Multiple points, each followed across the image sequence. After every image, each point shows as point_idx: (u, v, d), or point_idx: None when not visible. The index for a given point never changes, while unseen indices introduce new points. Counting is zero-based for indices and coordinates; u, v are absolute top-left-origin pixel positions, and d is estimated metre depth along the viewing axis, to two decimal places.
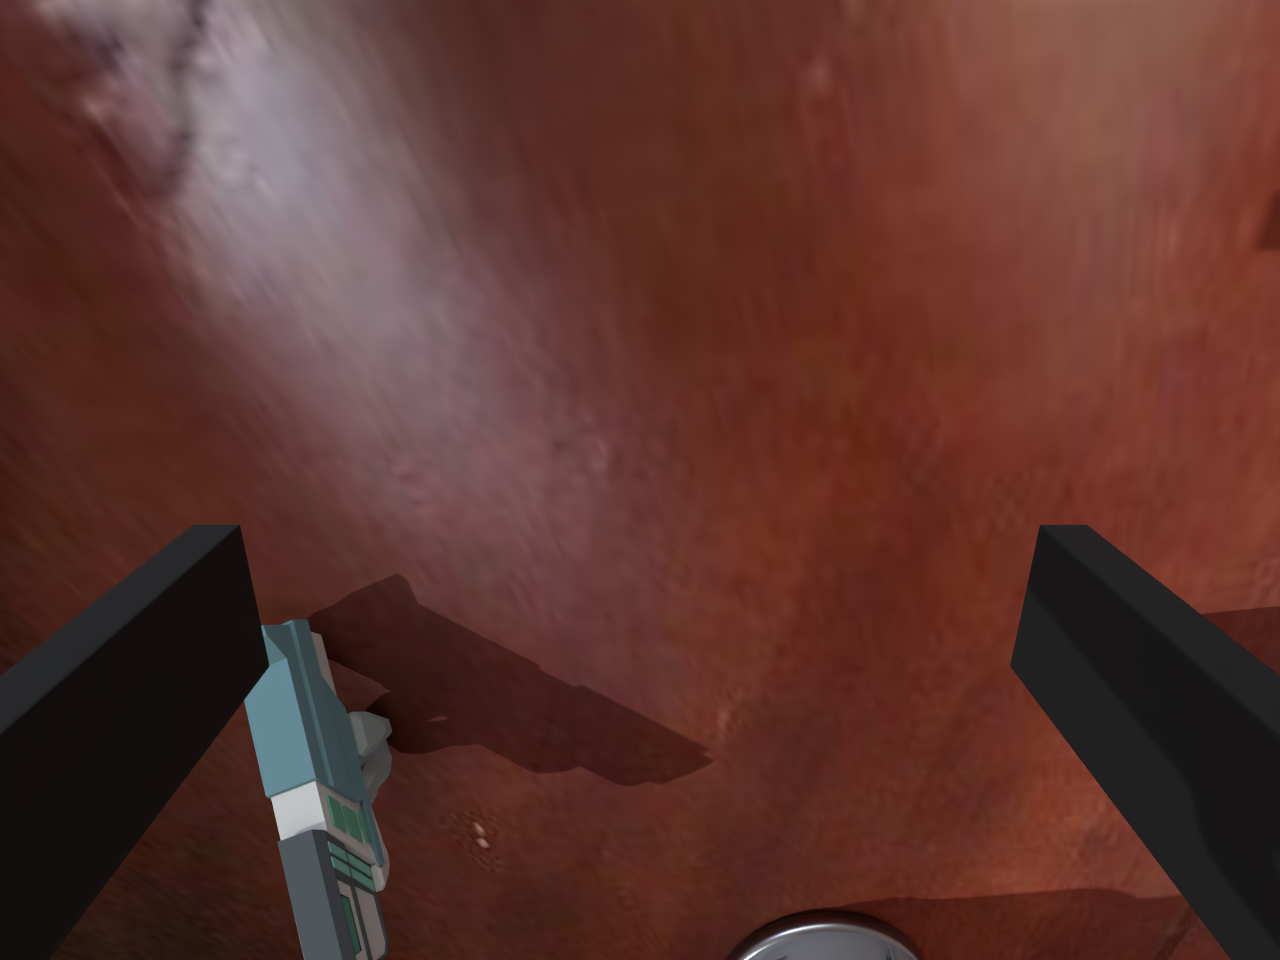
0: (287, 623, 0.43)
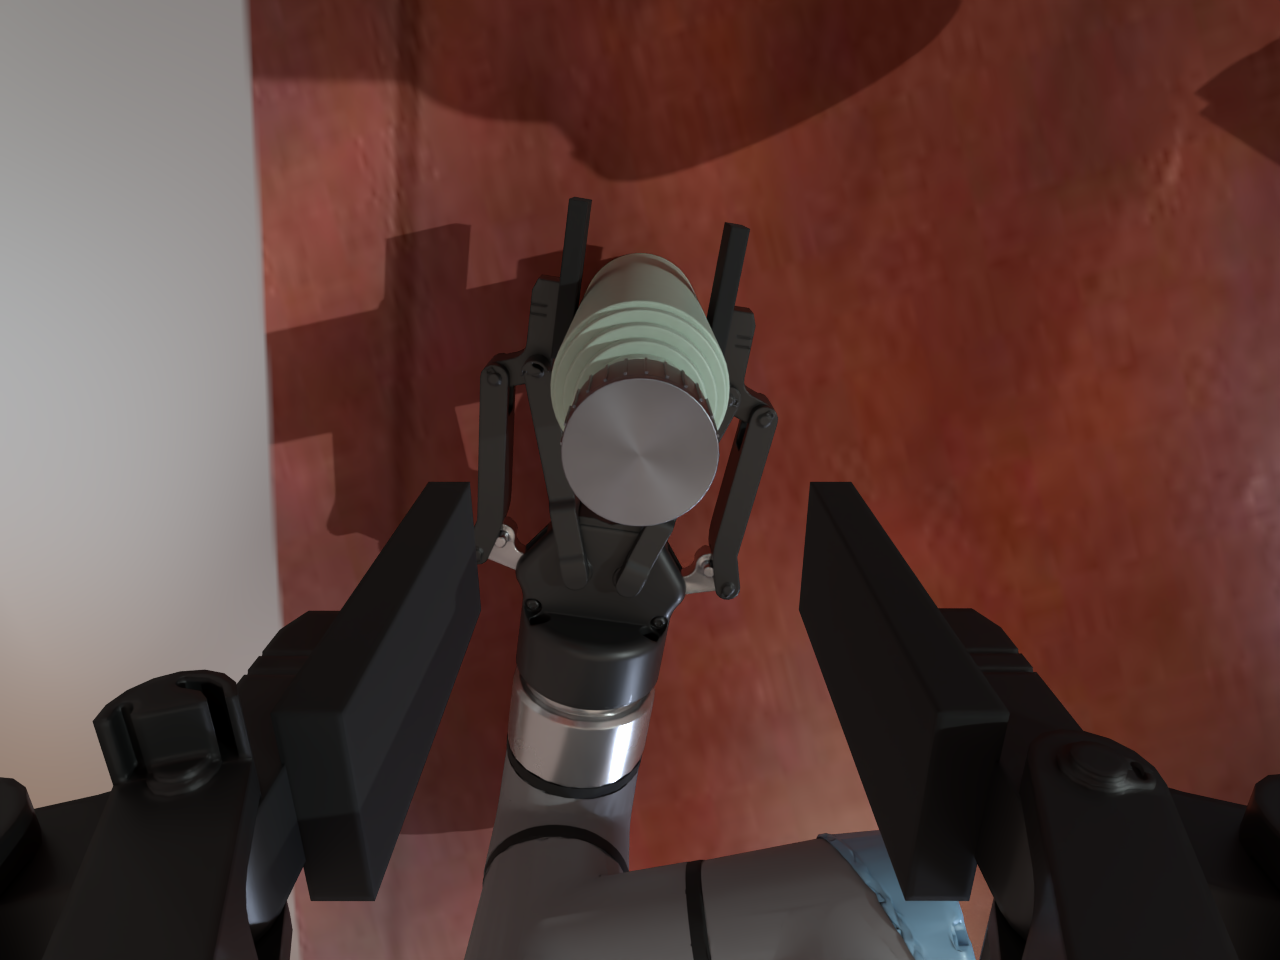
0: None
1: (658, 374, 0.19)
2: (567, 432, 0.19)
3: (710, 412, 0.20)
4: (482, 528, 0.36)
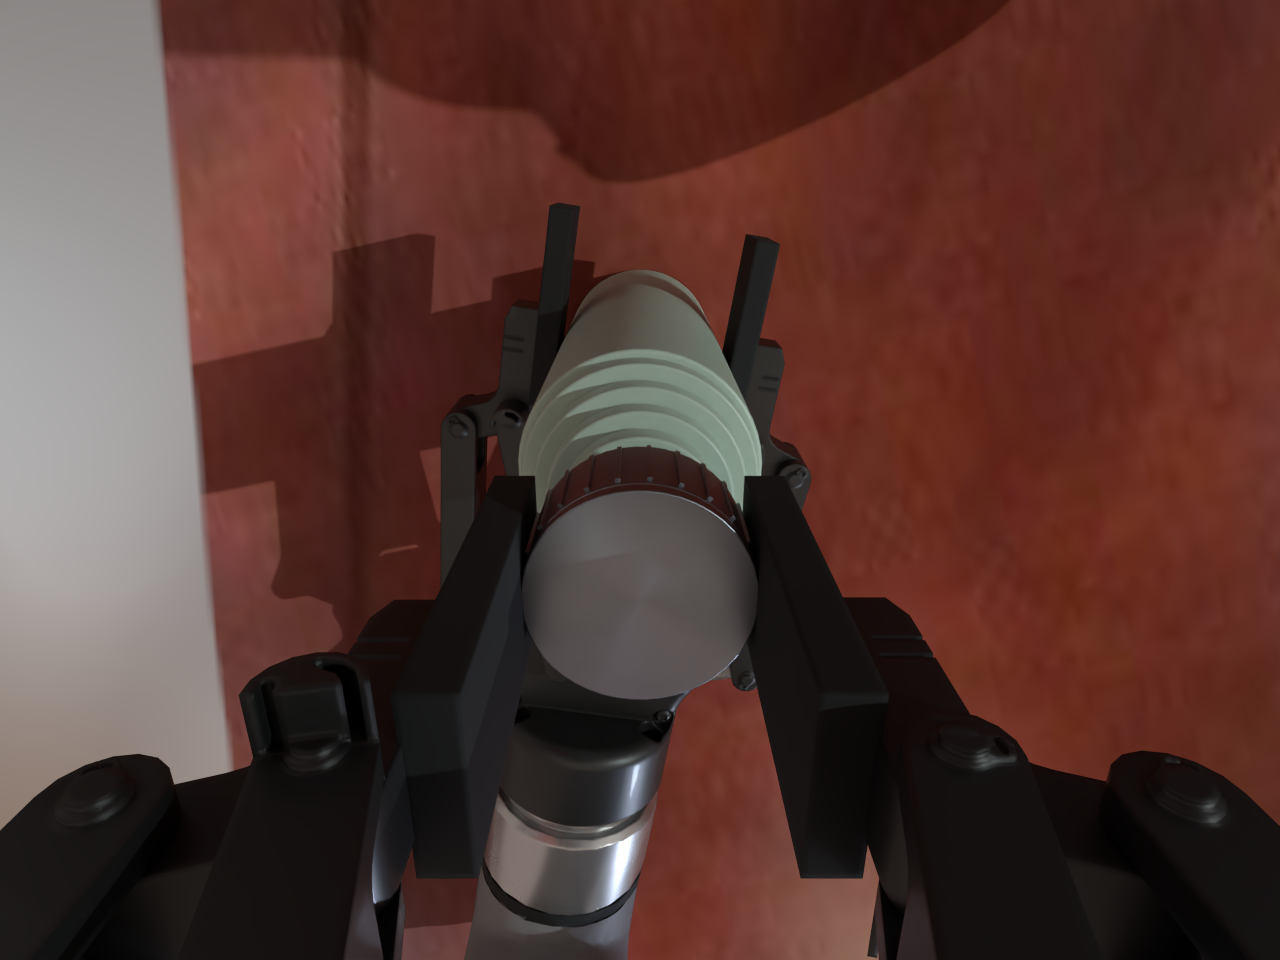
0: None
1: (668, 480, 0.13)
2: (529, 569, 0.13)
3: (746, 533, 0.13)
4: None
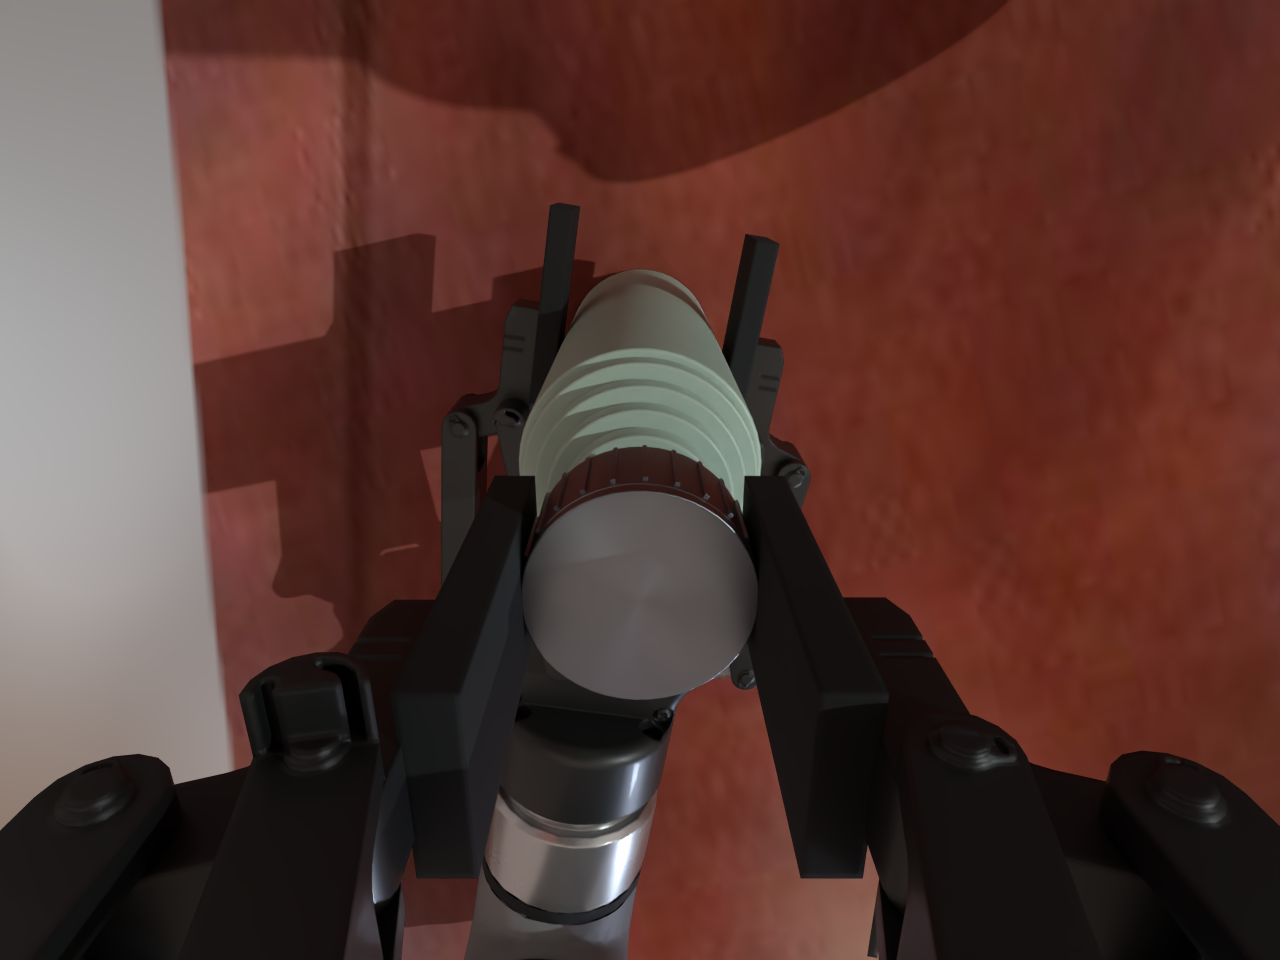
0: None
1: None
2: (637, 696, 0.13)
3: (556, 504, 0.13)
4: None
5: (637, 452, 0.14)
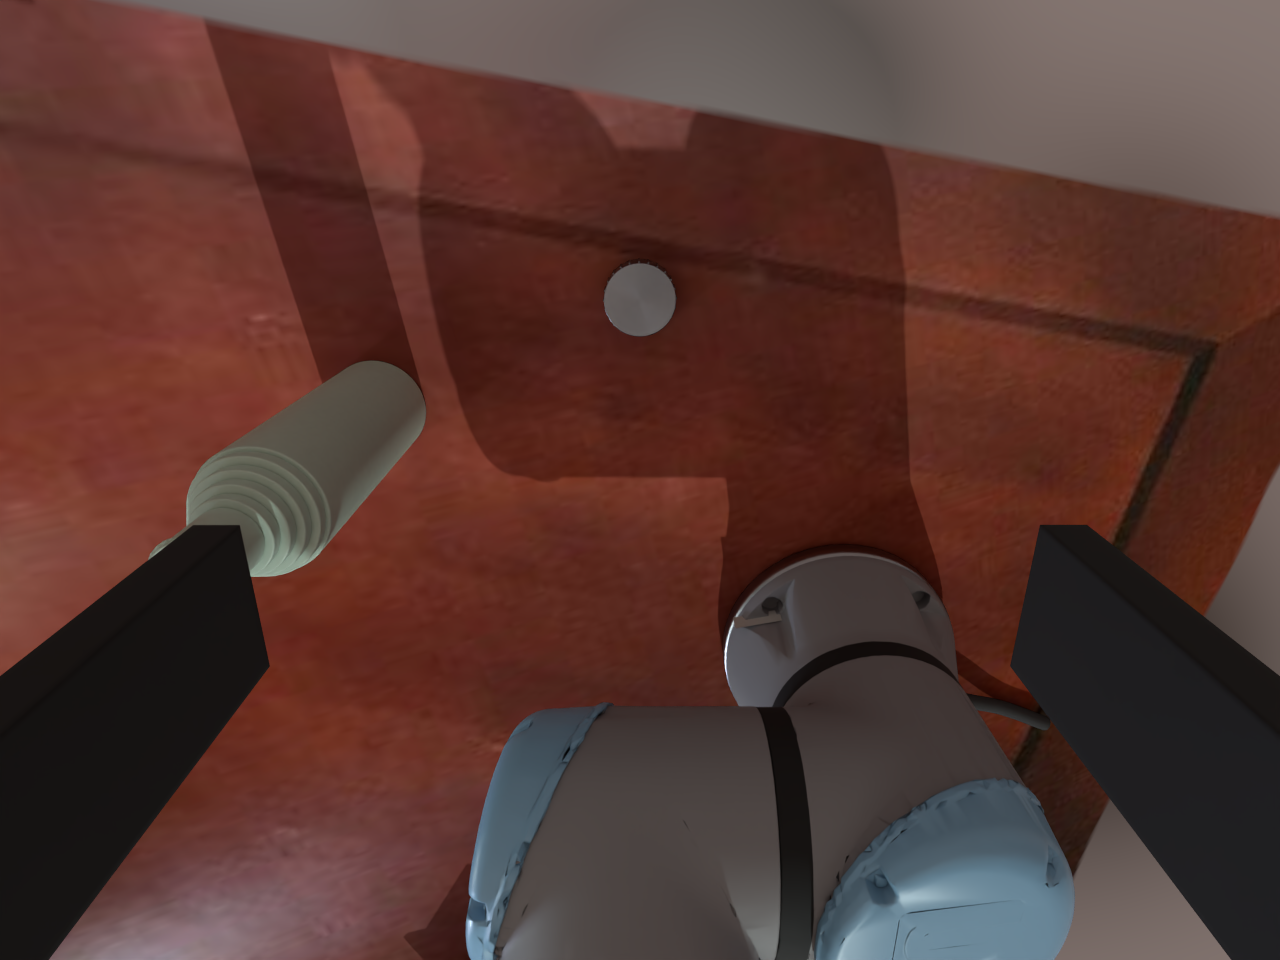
0: None
1: (668, 276, 0.43)
2: (620, 270, 0.42)
3: (675, 306, 0.43)
4: None
5: None
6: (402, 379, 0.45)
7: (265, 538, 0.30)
